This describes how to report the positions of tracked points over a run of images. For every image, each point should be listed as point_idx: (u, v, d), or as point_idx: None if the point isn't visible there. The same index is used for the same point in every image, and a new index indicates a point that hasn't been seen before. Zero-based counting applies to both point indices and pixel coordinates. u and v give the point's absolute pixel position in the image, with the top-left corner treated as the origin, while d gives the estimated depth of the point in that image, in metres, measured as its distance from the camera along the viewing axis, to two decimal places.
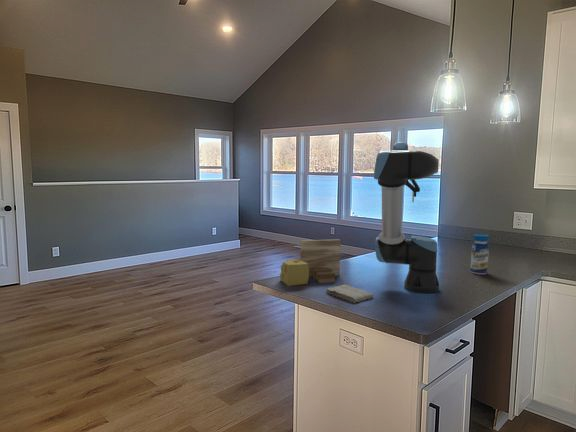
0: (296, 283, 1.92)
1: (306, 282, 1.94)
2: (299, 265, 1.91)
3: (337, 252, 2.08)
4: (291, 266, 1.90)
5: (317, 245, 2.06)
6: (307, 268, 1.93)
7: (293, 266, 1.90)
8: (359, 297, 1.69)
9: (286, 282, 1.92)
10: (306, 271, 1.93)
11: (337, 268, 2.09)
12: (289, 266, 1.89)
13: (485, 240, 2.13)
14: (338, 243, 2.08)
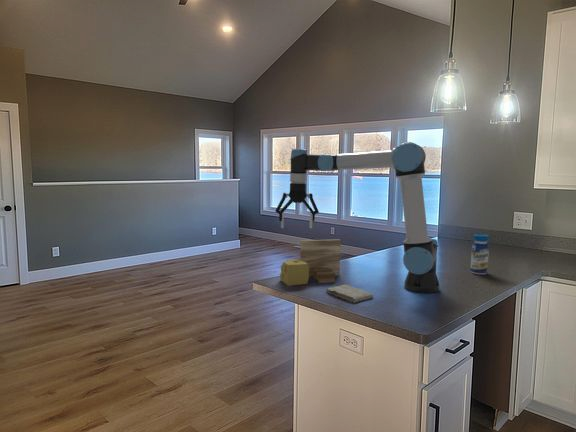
0: (296, 283, 1.92)
1: (306, 282, 1.94)
2: (299, 265, 1.91)
3: (337, 252, 2.08)
4: (291, 266, 1.90)
5: (317, 245, 2.06)
6: (307, 268, 1.93)
7: (293, 266, 1.90)
8: (359, 297, 1.69)
9: (286, 282, 1.92)
10: (306, 271, 1.93)
11: (337, 268, 2.09)
12: (289, 266, 1.89)
13: (485, 240, 2.13)
14: (338, 243, 2.08)
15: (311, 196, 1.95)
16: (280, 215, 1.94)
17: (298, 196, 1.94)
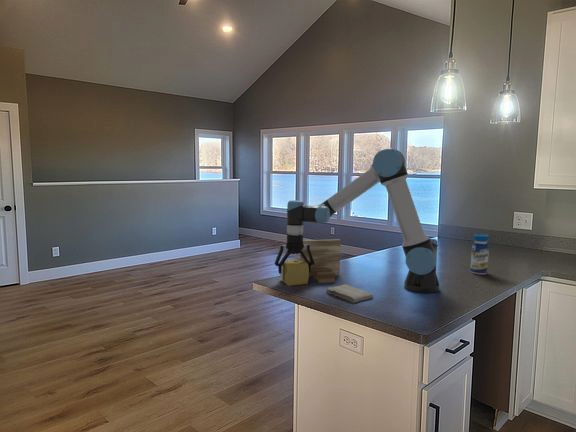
0: (296, 283, 1.92)
1: (306, 282, 1.93)
2: (299, 265, 1.91)
3: (337, 252, 2.08)
4: (291, 266, 1.90)
5: (317, 245, 2.06)
6: (307, 268, 1.93)
7: (293, 266, 1.90)
8: (358, 297, 1.69)
9: (286, 282, 1.92)
10: (306, 271, 1.93)
11: (337, 268, 2.09)
12: (289, 266, 1.89)
13: (485, 240, 2.13)
14: (338, 243, 2.08)
15: (308, 247, 1.95)
16: (279, 268, 1.94)
17: (295, 247, 1.93)
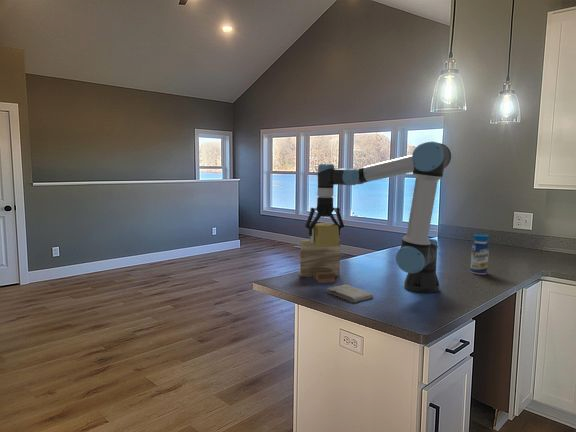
0: (327, 244, 1.95)
1: (336, 244, 1.97)
2: (330, 227, 1.95)
3: (337, 252, 2.08)
4: (322, 227, 1.93)
5: None
6: (337, 230, 1.96)
7: (324, 227, 1.94)
8: (358, 297, 1.69)
9: (317, 243, 1.96)
10: (336, 233, 1.96)
11: (337, 268, 2.09)
12: (320, 227, 1.93)
13: (485, 240, 2.13)
14: (338, 243, 2.08)
15: (338, 210, 1.98)
16: (310, 230, 1.97)
17: (326, 210, 1.97)
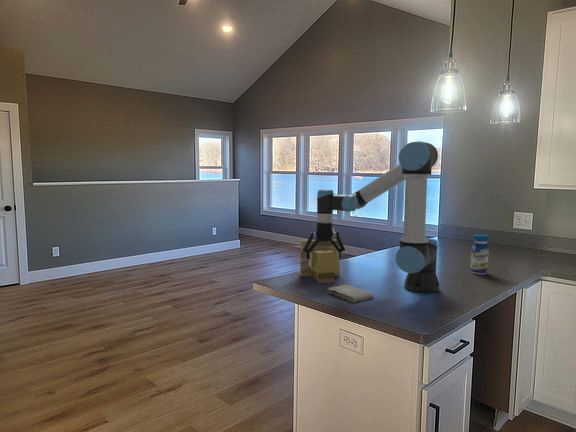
0: (326, 271, 1.97)
1: (336, 271, 1.99)
2: (329, 254, 1.97)
3: None
4: (321, 255, 1.95)
5: (317, 245, 2.06)
6: (337, 257, 1.98)
7: (323, 255, 1.96)
8: (358, 297, 1.69)
9: (316, 270, 1.98)
10: (336, 260, 1.98)
11: None
12: (319, 255, 1.95)
13: (485, 240, 2.13)
14: (338, 243, 2.08)
15: (337, 234, 2.00)
16: (308, 254, 1.99)
17: (325, 235, 1.99)
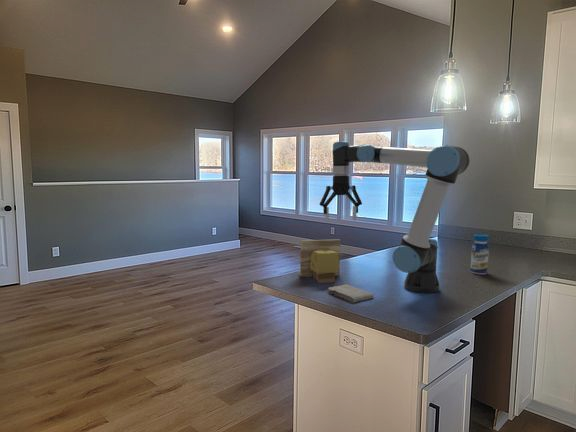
0: (326, 271, 1.97)
1: (336, 271, 1.99)
2: (329, 254, 1.97)
3: (337, 252, 2.08)
4: (321, 255, 1.95)
5: (317, 245, 2.06)
6: (337, 257, 1.98)
7: (323, 255, 1.96)
8: (358, 297, 1.70)
9: (316, 270, 1.98)
10: (336, 260, 1.98)
11: None
12: (319, 255, 1.95)
13: (485, 240, 2.13)
14: (338, 243, 2.08)
15: (354, 188, 1.96)
16: (325, 208, 1.95)
17: (342, 188, 1.95)
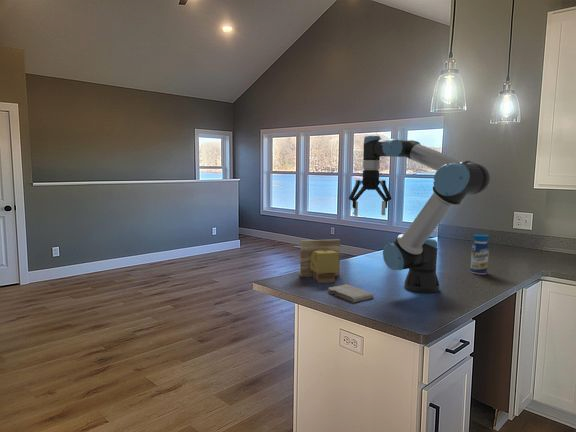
0: (326, 271, 1.97)
1: (336, 271, 1.99)
2: (329, 254, 1.97)
3: (337, 252, 2.08)
4: (321, 255, 1.95)
5: (317, 245, 2.06)
6: (337, 257, 1.98)
7: (323, 255, 1.96)
8: (358, 297, 1.70)
9: (316, 270, 1.98)
10: (336, 260, 1.98)
11: None
12: (319, 255, 1.95)
13: (485, 240, 2.13)
14: (338, 243, 2.08)
15: (384, 183, 1.94)
16: (354, 202, 1.93)
17: (372, 183, 1.93)
